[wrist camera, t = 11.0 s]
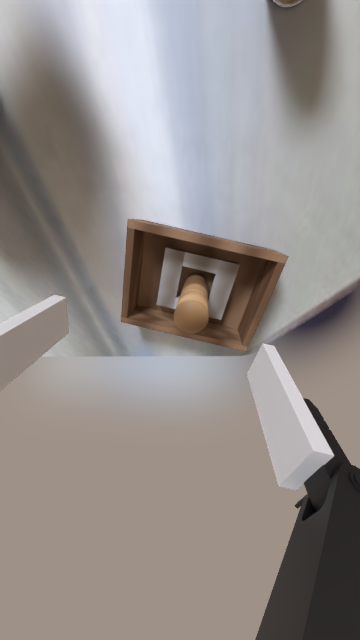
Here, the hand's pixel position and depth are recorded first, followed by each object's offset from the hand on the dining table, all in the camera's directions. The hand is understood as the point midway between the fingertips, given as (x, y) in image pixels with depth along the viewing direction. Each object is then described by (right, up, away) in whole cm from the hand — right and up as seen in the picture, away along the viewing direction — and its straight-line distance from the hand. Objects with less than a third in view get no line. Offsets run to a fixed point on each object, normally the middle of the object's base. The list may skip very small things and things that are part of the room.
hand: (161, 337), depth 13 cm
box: (+4, +8, +22) cm, 24 cm away
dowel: (+4, +8, +22) cm, 23 cm away
